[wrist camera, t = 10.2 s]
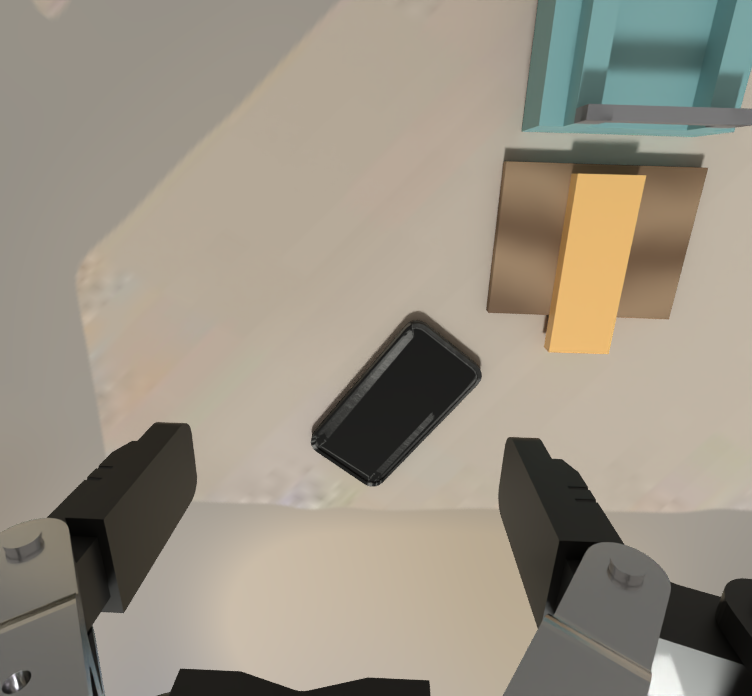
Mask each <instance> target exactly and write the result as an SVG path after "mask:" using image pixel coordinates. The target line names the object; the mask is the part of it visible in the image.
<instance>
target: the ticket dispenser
mask: <svg viewBox="0 0 752 696" xmlns="http://www.w3.org/2000/svg"><path fill="white" fill-rule="evenodd" d="M751 67H752V0H538V7H537V15H536V23H535V30H534V38H533V46H532V54H531V62H530V70H529V78H528V86H527V93H526V101H525V109H524V117H523V125H522V132H554V133H586V134H618V135H650V136H682V137H697V136H705V135H713V134H721V133H729V132H734V130H735V128H736V127H743V126H750V125H752V109H744V108H741V104H742V101H743V97H744V93H745V90H746V86H747V82H748V79H749V75H750V71H751Z"/></svg>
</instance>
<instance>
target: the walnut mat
mask: <svg viewBox="0 0 752 696" xmlns="http://www.w3.org/2000/svg"><path fill="white" fill-rule="evenodd" d="M707 170H708V168H696V167H665V166H634V165H603V164H572V163H541V162H510V161H505V162H504V164H503V173H502V181H501V190H500V198H499V207H498V215H497V224H496V232H495V241H494V249H493V258H492V266H491V275H490V284H489V292H488V301H487V309H486V310H487V311H488V313H512V314H539V315H549V313H550V307H551V300H552V294H553V288H554V281H555V275H556V269H557V262H558V256H559V250H560V244H561V237H562V231H563V225H564V218H565V212H566V206H567V199H568V193H569V187H570V181H571V174H613V175H646V179H645V184H644V189H643V193H642V198H641V203H640V208H639V212H638V217H637V222H636V227H635V231H634V236H633V241H632V245H631V250H630V255H629V260H628V264H627V269H626V274H625V279H624V283H623V288H622V293H621V298H620V302H619V307H618V312H617V316H616V317H621V318H648V319H669V316H670V312H671V309H672V305H673V301H674V297H675V293H676V289H677V285H678V282H679V278H680V274H681V270H682V266H683V262H684V259H685V255H686V251H687V247H688V243H689V239H690V236H691V232H692V228H693V224H694V220H695V216H696V212H697V209H698V205H699V201H700V197H701V193H702V189H703V186H704V182H705V178H706V174H707Z"/></svg>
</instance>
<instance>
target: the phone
mask: <svg viewBox="0 0 752 696" xmlns="http://www.w3.org/2000/svg"><path fill="white" fill-rule="evenodd" d="M481 377H482V374H481V371H480V368H479V366H478V365H477V364H476V363H475V362H474V361H473V360H470V358H469V357H468V356H466V355H465V354H464V353H463V352H461V351H460V350H459V349H458V348H456V347H455V346H454V345H452V344H451V343H450V342H449V341H447V340H446V339H445V338H444V337H442V336H441V335H440V334H439V333H437V332H436V331H435V330H434V329H432V328H431V327H430V326H428V325H427V324H426V323H424V322H422V321H412V322H410V323H408V324H407V325H406V326H405V327H404V328H403V329H402V330H401V332H400V333H399V334H398V335H397V336H396V337H395V339H394V340H393V341H392V342H391V343H390V344H389V345H388V347H387V348H386V349H385V350H384V351H383V352H382V354H381V355H380V356H379V357H378V358H377V359H376V361H375V362H374V363H373V364H372V365H371V366H370V367H369V369H368V370H367V371H366V372H365V373H364V374H363V376H362V377H361V378H360V379H359V380H358V381H357V382H356V384H355V385H354V386H353V387H352V388H351V389H350V391H349V392H348V393H347V394H346V395H345V396H344V398H343V399H342V400H341V401H340V402H339V403H338V404H337V406H336V407H335V408H334V409H333V410H332V411H331V413H330V414H329V415H328V416H327V417H326V418H325V420H324V421H323V422H322V423H321V424H320V425H319V426H318V428H317V429H316V430H315V431H314V433H313V435H312V439H311V445H312V447H313V449H314V450H315V451H316V452H318V453H319V454H321V455H322V456H324V457H325V458H327V459H328V460H330V461H331V462H333V463H334V464H336V465H337V466H339V467H340V468H342V469H343V470H344V471H346V472H347V473H349V474H350V475H352V476H353V477H355V478H356V479H358V480H359V481H361V482H362V483H364V484H365V485H368V486H378V485H380V484H381V483H383V482H384V480H385V479H386V478H387V477H388V476H389V475H390V474H391V473H392V472H393V471H394V470H395V469H396V468H397V467H398V466H399V465H400V464H401V463H402V462H403V461H404V460H405V459H406V458H407V457H408V456H409V455H410V454H411V453H412V452H413V451H414V450H415V449H416V448H417V447H418V446H419V444H420V443H421V442H422V441H423V440H424V439H425V438H426V437H427V436H428V435H429V434H430V433H431V432H432V431H433V430H434V429H435V428H436V427H437V426H438V425H439V424H440V423H441V422H442V421H443V420H444V419H445V418H446V417H447V416H448V415H449V414H450V413H451V412H452V411H453V410H454V409H455V407H456V406H457V405H458V404H459V403H460V402H461V401H462V400H463V399H464V398H465V397H466V396H467V395H468V394H469V393H470V392H471V391H472V390H473V389H474V388H475V387H476V386H477V385H478V384H479V382H480V381H481Z"/></svg>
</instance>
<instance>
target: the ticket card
mask: <svg viewBox="0 0 752 696" xmlns="http://www.w3.org/2000/svg"><path fill="white" fill-rule="evenodd" d="M645 179H646V175H613V174H571V181H570V187H569V193H568V199H567V206H566V212H565V218H564V225H563V231H562V237H561V244H560V250H559V256H558V262H557V269H556V275H555V281H554V288H553V294H552V300H551V307H550V313H549V319H548V325H547V332H546V338H545V344H544V347H545V348H546V350H547V351H548V352H559V353H591V354H609V350H610V345H611V340H612V335H613V331H614V326H615V321H616V316H617V312H618V307H619V302H620V298H621V293H622V288H623V283H624V279H625V274H626V269H627V264H628V260H629V255H630V250H631V245H632V241H633V236H634V231H635V227H636V222H637V217H638V212H639V208H640V203H641V198H642V193H643V189H644V184H645Z"/></svg>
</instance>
